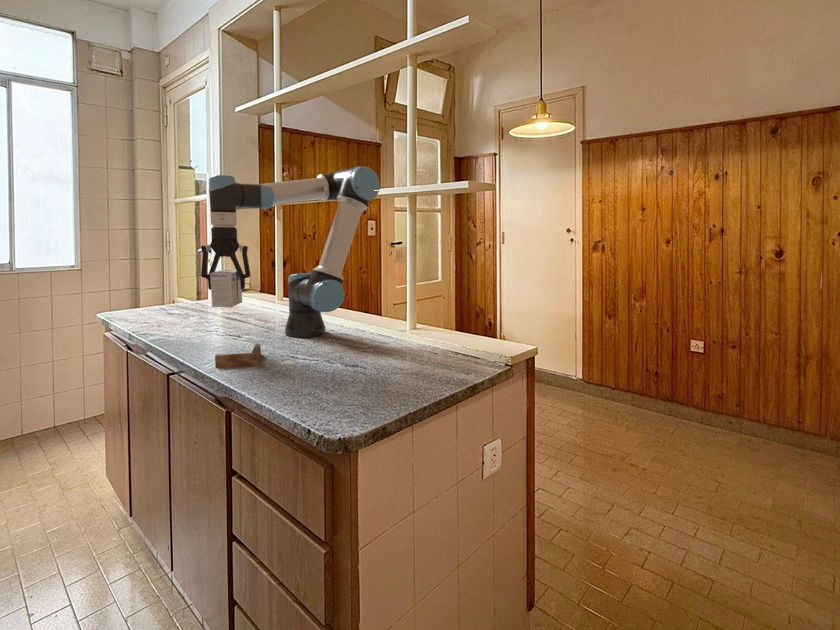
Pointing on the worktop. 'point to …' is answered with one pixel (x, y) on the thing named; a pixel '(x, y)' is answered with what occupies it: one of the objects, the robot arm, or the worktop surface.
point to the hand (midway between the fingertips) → (227, 299)
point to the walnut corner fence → (239, 358)
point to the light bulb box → (224, 288)
